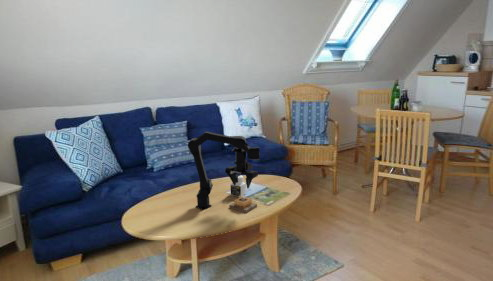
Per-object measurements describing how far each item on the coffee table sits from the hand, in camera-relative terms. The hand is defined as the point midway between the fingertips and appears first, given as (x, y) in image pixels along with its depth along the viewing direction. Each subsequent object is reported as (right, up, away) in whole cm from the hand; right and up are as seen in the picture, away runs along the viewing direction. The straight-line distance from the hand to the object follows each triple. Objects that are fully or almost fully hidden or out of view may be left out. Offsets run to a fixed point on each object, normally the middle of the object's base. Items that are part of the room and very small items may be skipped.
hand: (241, 186), depth 189 cm
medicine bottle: (-2, -8, +21) cm, 23 cm away
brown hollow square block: (+1, -10, +2) cm, 10 cm away
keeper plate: (+1, -12, +2) cm, 12 cm away
